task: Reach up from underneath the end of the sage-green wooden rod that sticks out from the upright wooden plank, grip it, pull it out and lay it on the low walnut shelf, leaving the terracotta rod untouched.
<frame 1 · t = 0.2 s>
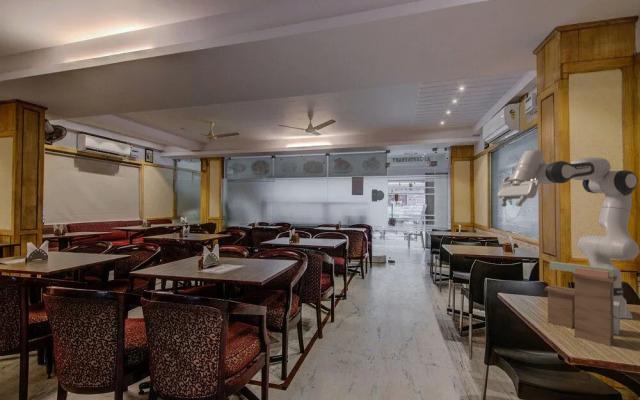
hand: (510, 206, 151), 54 cm above the table, tool tilted 25°, fingers open, 8 cm apart
upright wooden plank: (593, 338, 130), on the table
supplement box: (608, 331, 139), on the table
terracotta rod: (592, 275, 129), point 26 cm above the table, touching upright wooden plank
sage rod: (580, 272, 135), point 26 cm above the table, touching upright wooden plank
low shelf: (561, 323, 147), on the table
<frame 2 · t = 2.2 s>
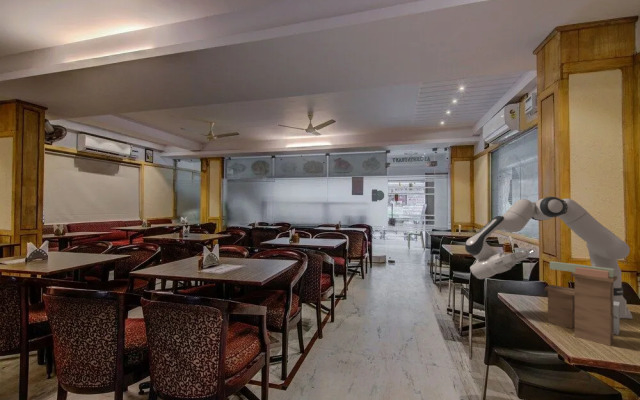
hand: (530, 251, 149), 33 cm above the table, tool pointing upward, fingers open, 8 cm apart
nothing on the table moved.
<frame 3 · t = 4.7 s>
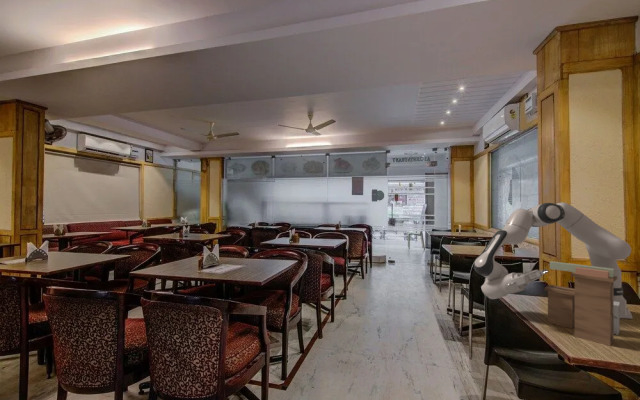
hand: (544, 271, 145), 24 cm above the table, tool pointing upward, fingers open, 8 cm apart
nothing on the table moved.
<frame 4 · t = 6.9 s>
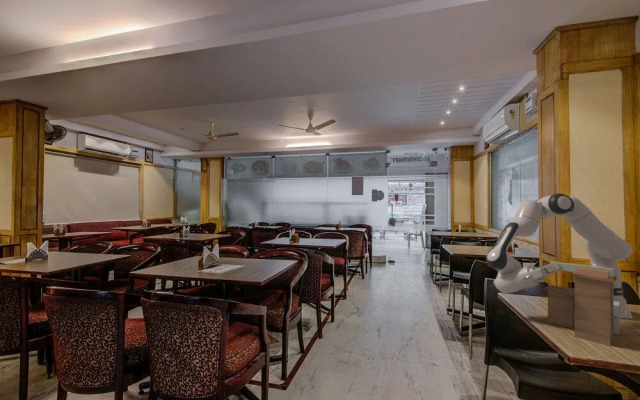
hand: (561, 265, 140), 28 cm above the table, tool pointing upward, fingers closed on sage rod, 3 cm apart
sage rod: (580, 272, 135), point 26 cm above the table, touching gripper, upright wooden plank
everything else where it was.
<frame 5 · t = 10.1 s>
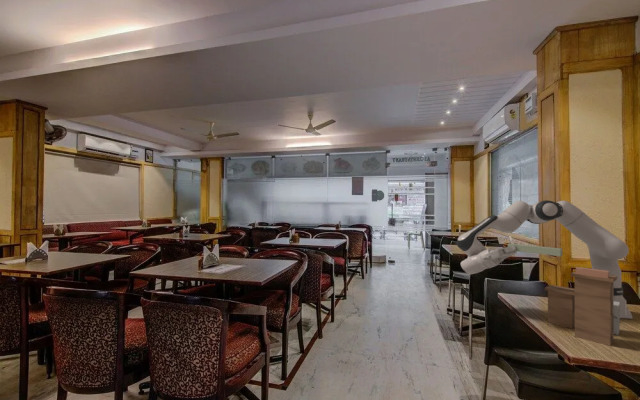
hand: (517, 246, 153), 34 cm above the table, tool pointing upward, fingers closed on sage rod, 3 cm apart
sage rod: (533, 252, 148), point 32 cm above the table, touching gripper
everything else where it was.
when the fingers open (19 cm above the table, at t = 13.7 s): sage rod stays where it is, resting on low shelf.
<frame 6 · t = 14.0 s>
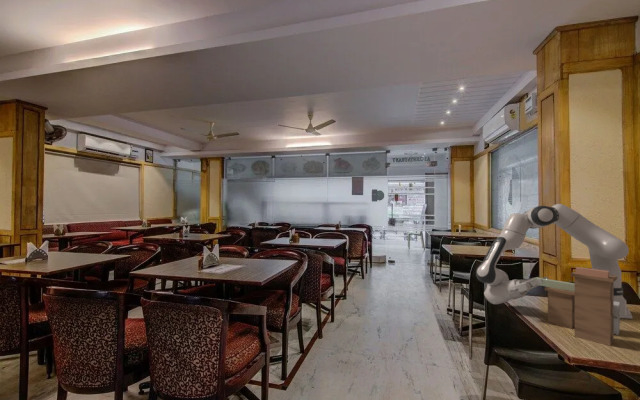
hand: (544, 279, 152), 19 cm above the table, tool pointing upward, fingers open, 6 cm apart
sage rod: (561, 288, 147), point 16 cm above the table, touching low shelf
everything else where it was.
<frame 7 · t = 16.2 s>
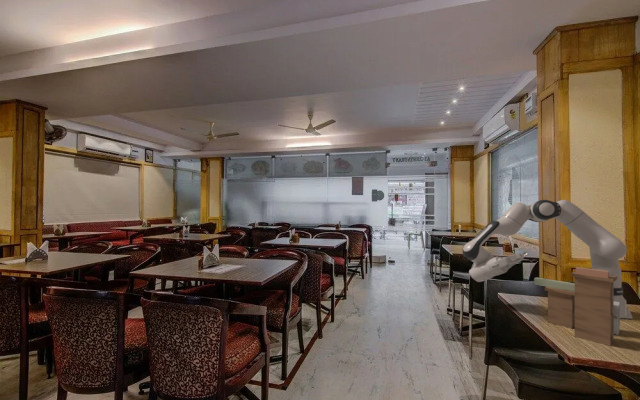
hand: (524, 254, 159), 30 cm above the table, tool pointing upward, fingers open, 8 cm apart
nothing on the table moved.
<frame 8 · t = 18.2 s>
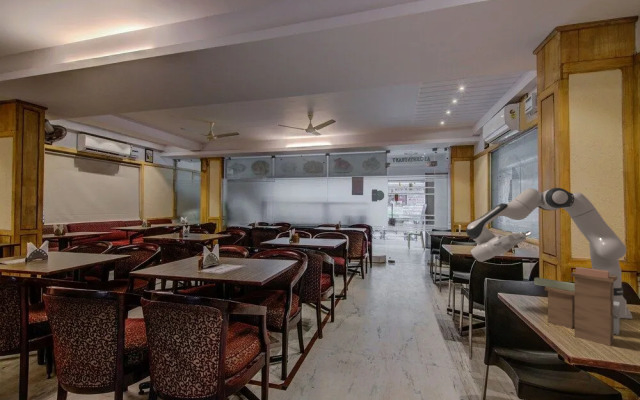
hand: (527, 232, 158), 40 cm above the table, tool pointing upward, fingers open, 8 cm apart
nothing on the table moved.
at the end: sage rod inside the target area on the low shelf (0.1 cm from its centre), point 16.0 cm above the low shelf's base; sage rod touching low shelf; terracotta rod moved 0.0 cm from its start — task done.
